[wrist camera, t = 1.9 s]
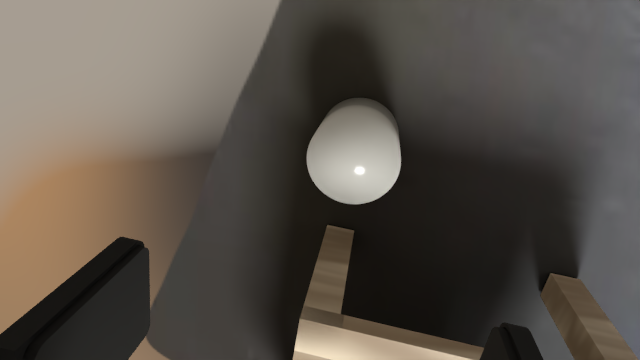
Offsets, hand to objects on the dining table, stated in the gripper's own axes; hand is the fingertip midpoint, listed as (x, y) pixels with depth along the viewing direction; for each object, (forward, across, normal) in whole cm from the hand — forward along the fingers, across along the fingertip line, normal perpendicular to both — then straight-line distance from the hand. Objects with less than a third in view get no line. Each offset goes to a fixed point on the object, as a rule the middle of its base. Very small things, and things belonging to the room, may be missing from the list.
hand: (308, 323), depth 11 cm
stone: (+18, 0, 0) cm, 18 cm away
